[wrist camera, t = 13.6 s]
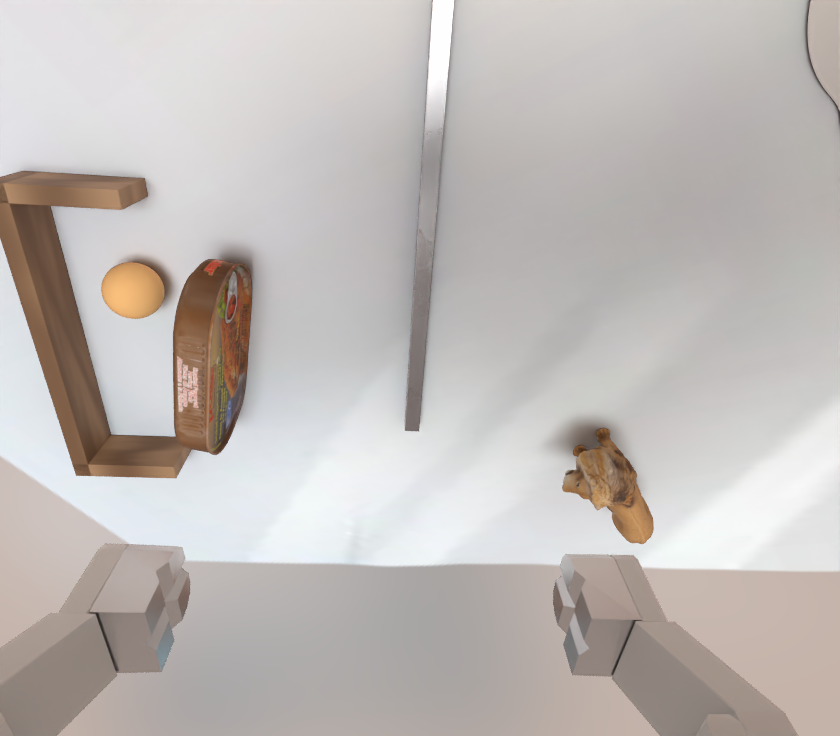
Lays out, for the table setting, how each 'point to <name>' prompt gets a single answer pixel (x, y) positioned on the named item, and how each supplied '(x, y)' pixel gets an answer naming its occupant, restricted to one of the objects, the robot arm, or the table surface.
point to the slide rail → (428, 201)
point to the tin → (211, 354)
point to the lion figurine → (611, 487)
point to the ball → (132, 290)
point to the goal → (72, 319)
